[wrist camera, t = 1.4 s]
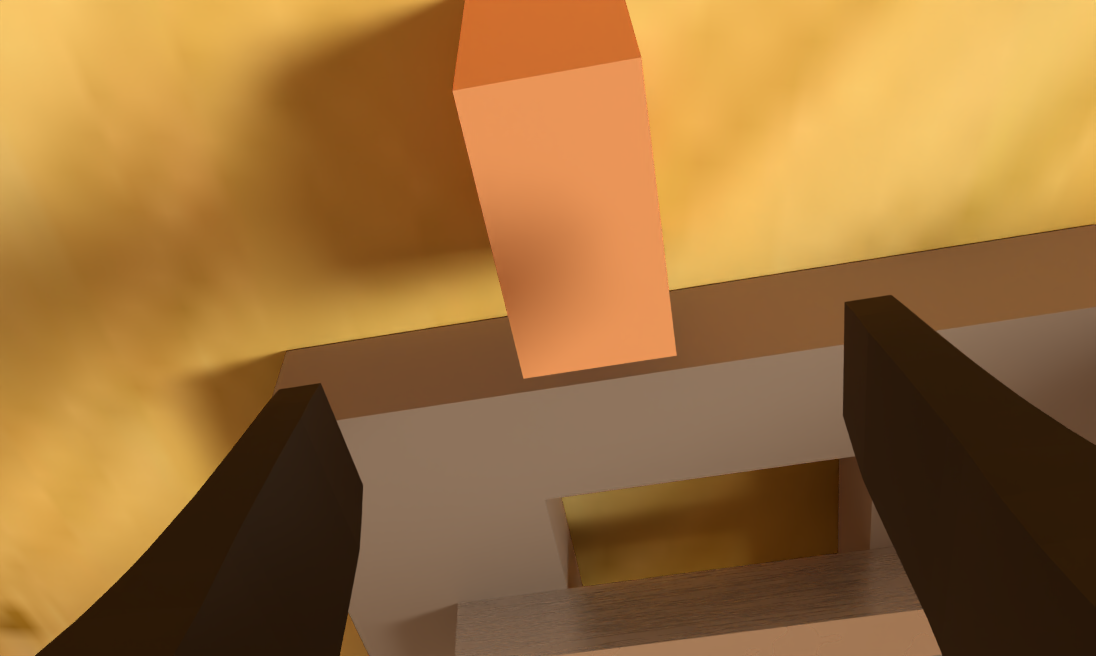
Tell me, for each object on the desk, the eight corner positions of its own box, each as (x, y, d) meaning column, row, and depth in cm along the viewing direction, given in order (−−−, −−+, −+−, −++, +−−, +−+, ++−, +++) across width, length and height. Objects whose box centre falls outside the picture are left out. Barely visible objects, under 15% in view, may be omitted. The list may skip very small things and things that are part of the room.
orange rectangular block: (614, -36, 19) (641, 57, 15) (648, 223, 22) (676, 355, 18) (465, -9, 19) (452, 91, 15) (522, 244, 23) (523, 378, 19)
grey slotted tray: (1096, 224, 23) (1221, 354, 19) (1016, 629, 32) (1087, 773, 28) (286, 351, 24) (240, 495, 20) (437, 700, 34) (426, 846, 30)
